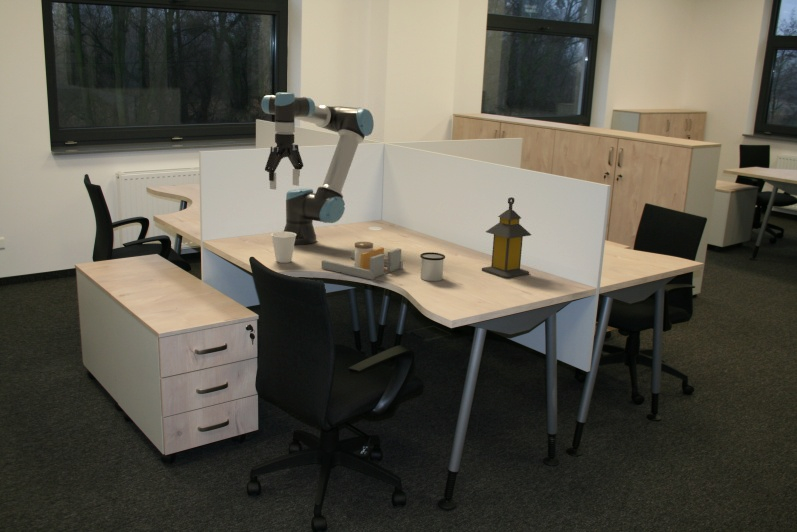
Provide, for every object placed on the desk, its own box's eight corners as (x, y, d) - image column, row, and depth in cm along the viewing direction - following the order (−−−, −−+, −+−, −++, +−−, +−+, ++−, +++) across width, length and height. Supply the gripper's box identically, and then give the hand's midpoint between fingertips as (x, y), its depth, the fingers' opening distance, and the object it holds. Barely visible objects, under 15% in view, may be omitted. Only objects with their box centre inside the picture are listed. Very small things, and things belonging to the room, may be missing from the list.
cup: (272, 257, 302) (272, 231, 299) (296, 258, 303) (297, 231, 300) (270, 264, 293) (270, 236, 290) (295, 264, 294) (295, 237, 291)
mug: (436, 283, 276) (437, 259, 274) (414, 278, 281) (415, 255, 279) (451, 276, 286) (452, 253, 284) (430, 272, 291) (431, 249, 289)
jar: (361, 265, 297) (361, 240, 294) (376, 268, 293) (376, 243, 291) (350, 268, 291) (351, 243, 288) (365, 272, 287) (366, 246, 285)
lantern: (480, 270, 297) (485, 195, 289) (505, 265, 305) (511, 193, 298) (505, 279, 286) (511, 202, 278) (530, 274, 295) (537, 199, 287)
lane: (353, 258, 307) (353, 239, 305) (402, 268, 295) (403, 248, 293) (321, 268, 290) (321, 248, 288) (372, 279, 278) (373, 258, 276)
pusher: (380, 264, 296) (381, 247, 294) (400, 268, 291) (401, 251, 289) (360, 271, 284) (360, 253, 283) (380, 275, 280) (380, 257, 278)
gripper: (298, 130, 303) (297, 182, 309) (255, 134, 283) (255, 189, 288) (312, 132, 299) (311, 184, 305) (270, 135, 279) (270, 191, 284)
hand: (284, 187), depth 297 cm, fingers open, 13 cm apart
